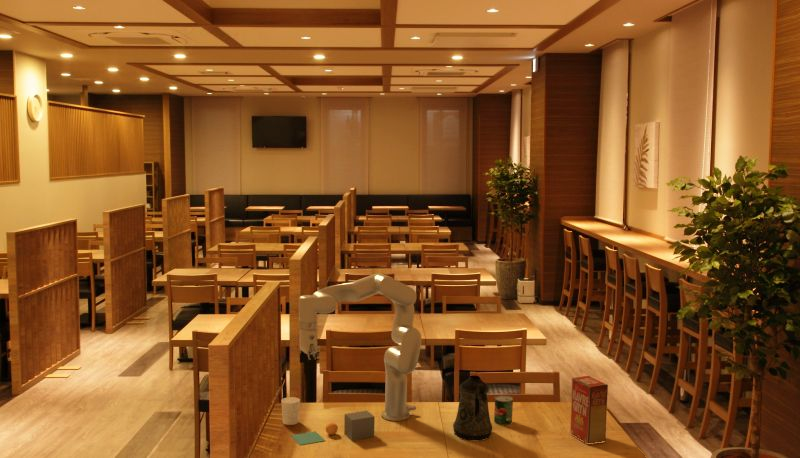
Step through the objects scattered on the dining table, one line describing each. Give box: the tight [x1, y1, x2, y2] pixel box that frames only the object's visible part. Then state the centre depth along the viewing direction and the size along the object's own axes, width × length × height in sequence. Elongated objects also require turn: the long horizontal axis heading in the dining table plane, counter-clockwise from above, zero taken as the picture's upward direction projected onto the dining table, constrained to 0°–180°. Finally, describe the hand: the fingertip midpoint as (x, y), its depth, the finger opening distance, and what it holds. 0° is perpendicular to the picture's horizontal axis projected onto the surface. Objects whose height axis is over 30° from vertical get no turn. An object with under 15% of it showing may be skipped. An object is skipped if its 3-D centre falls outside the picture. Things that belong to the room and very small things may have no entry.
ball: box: [325, 422, 339, 435], centre depth 329 cm, size 5×5×5 cm
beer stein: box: [452, 374, 493, 441], centre depth 330 cm, size 16×19×25 cm
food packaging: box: [569, 375, 609, 443], centre depth 329 cm, size 13×9×25 cm
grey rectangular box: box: [343, 410, 375, 442], centre depth 328 cm, size 10×8×9 cm
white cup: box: [280, 396, 301, 426], centre depth 341 cm, size 8×8×10 cm
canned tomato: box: [493, 395, 514, 426], centre depth 346 cm, size 8×8×11 cm
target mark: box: [290, 430, 326, 446], centre depth 324 cm, size 11×11×1 cm
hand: (307, 365), depth 327 cm, fingers open, 9 cm apart
